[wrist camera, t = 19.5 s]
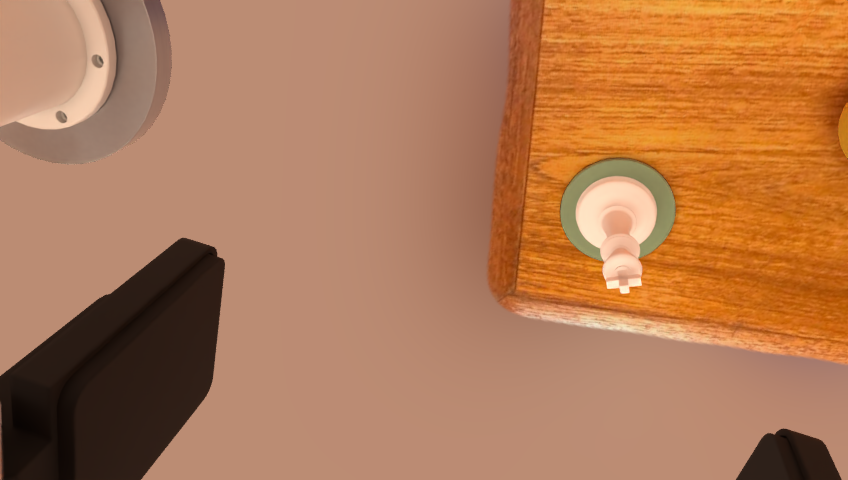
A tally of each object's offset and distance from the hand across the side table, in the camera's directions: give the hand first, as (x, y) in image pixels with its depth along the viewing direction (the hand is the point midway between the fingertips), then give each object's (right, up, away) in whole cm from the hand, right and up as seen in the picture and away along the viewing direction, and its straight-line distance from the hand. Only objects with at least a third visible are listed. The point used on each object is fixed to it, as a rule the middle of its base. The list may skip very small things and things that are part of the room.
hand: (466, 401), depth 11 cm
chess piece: (+11, +4, +31) cm, 34 cm away
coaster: (+12, +5, +32) cm, 34 cm away
